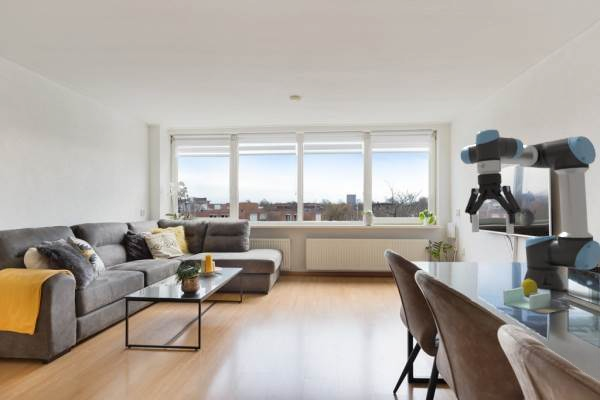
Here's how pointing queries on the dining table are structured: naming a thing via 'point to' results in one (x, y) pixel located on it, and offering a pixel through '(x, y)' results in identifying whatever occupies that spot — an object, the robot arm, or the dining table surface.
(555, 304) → the clip
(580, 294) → the dining table surface
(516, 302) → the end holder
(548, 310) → the board
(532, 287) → the lemon
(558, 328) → the dining table surface
